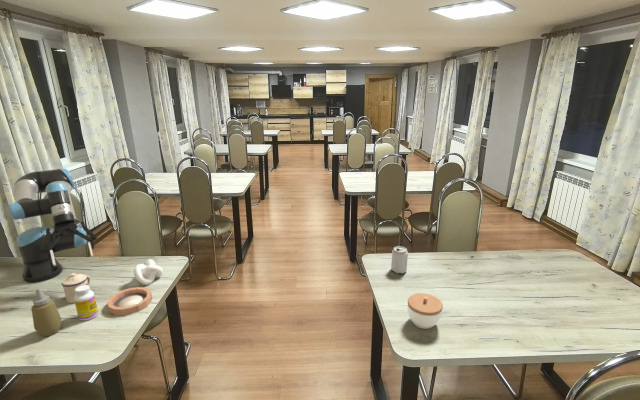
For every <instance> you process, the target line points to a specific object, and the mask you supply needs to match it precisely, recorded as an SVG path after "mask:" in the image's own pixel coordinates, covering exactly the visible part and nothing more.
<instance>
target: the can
mask: <svg viewBox="0 0 640 400" xmlns="http://www.w3.org/2000/svg"><path fill="white" fill-rule="evenodd" d="M408 256H409V252H408V249H407V247H404V246H400V245H397V246H394V247H393V249H392V252H391V265H390V266H391V267H390V270H391V271H392V272H393V271H394V272H393V273H395V272H396V273H395V274H398V273H402V274H405V273H406V272H407V271H408V270H407V269H408V268H407V267H408V259H409V257H408Z"/></svg>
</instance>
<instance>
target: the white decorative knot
mask: <svg viewBox="0 0 640 400" xmlns="http://www.w3.org/2000/svg"><path fill="white" fill-rule="evenodd" d="M163 274H164V271H163V268H162V267H161V266H159V265H157V264H156V262H155V261H154V260H153V259H151V258H150V259H147V260H145V261H144V263H143V264H142V263H139V264H137V265H135V267H134V269H133V275H134V277H135V279H136V280H137V281H138V282H139V283H140V284H142V285H144V286H147V285H151V284H153V282H154V281H155V278H156V279H157V278H160V277H161V276H163Z"/></svg>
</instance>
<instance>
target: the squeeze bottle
mask: <svg viewBox="0 0 640 400" xmlns="http://www.w3.org/2000/svg"><path fill="white" fill-rule="evenodd" d="M32 303H33V305H32V306H31V316H32V322H33V328H34V330H35V331H36V332H37V333H38V334H39V335H40V336H41V337H50V336H53V335H55V334H57V333H58V332H60V329H61V325H62V317H61V315H60V313H59V310H58V308H57V305H56V303H55V301H54V300H52V299H50V296H49V295H47V294H44V292H43V291H42V289H40V288H38V289H36V290H35V298H34V299H33V300H32Z"/></svg>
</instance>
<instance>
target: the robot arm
mask: <svg viewBox="0 0 640 400" xmlns="http://www.w3.org/2000/svg"><path fill="white" fill-rule="evenodd" d="M74 188H75V182H74V180H73V178H72V175H71V172H70V171H69V169H67V168H57V169H49V170H41V171H32V172H29V173H26V174H24V175H22V176H20V177H18V179H17V180H16V181H15V183H14V186H13V190H14V192H15V193H16V195H15V196H16V197H15V202H13V203H10V204H8V212H9V215H10V217H11V219H12V220H24V219H29V218H34V217H35V218H36V217H40V216H47V215H51V217H52V220H53V226H52V228H48V227H46V226H37V227H34V228H30V229H27V230H25V231H23V232H21V233H19V235H18V236H17V238H16V241H17V247H18V249H19V252H20V255H21V259H22V262H23V271H22V279H23V282H25V283H28V284H29V283H30V284H35V283H40V282H45V281H48V280H52V279H53V278H56V277H57V276H59V275H60V274H61V273H63V266H62V265H61V263H60V262H59V260H57V258H56V257H55V255H54V254H55V253H57V252H58V253H59V252H63V251H68V250H71V249H78V248H81V247H84V246H85V245H86V244H87V245H88V249H89V253H90V257H91V258H93V257H94V254H93V250H95V244H94V241H97V239H98V237H97V236H96V235H95V234H94V233H93V232H92V231H91V230H90V229H89V228H88V227H87V226H86V224H85V221H81V220H80V219H78V218H76V212H75V209H74V205H73V202H72V198H71V191H72V189H74ZM39 193H40V194H43V193H46V195H47V197H45V198H39V199H37V194H39Z"/></svg>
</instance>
